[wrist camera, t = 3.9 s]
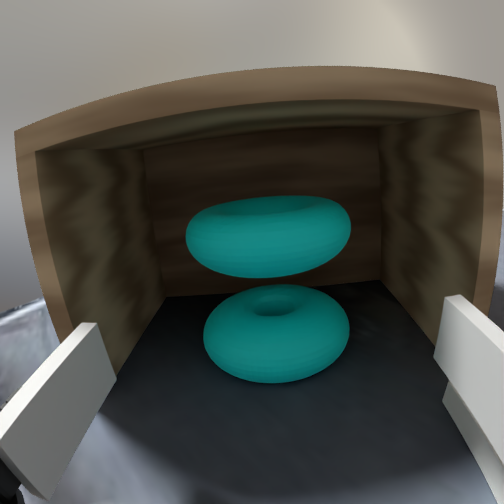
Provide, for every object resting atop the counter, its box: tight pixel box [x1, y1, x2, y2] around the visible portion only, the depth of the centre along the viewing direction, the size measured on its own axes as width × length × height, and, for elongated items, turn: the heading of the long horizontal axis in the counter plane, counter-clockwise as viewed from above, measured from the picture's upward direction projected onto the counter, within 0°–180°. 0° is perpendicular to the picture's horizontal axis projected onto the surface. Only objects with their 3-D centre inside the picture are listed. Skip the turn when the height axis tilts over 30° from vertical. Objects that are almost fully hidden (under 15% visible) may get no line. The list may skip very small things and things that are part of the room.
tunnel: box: [14, 66, 503, 376], centre depth 22 cm, size 18×25×16 cm
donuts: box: [185, 196, 351, 383], centre depth 20 cm, size 10×10×10 cm
